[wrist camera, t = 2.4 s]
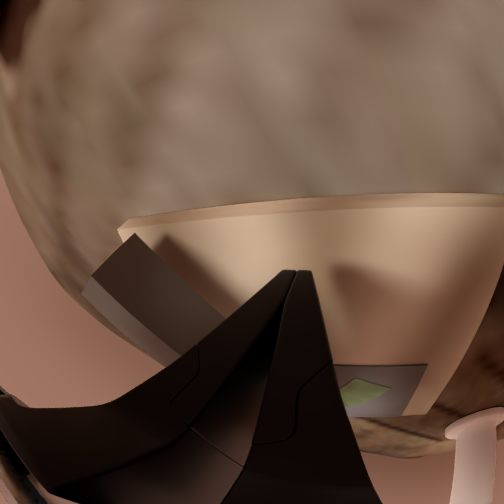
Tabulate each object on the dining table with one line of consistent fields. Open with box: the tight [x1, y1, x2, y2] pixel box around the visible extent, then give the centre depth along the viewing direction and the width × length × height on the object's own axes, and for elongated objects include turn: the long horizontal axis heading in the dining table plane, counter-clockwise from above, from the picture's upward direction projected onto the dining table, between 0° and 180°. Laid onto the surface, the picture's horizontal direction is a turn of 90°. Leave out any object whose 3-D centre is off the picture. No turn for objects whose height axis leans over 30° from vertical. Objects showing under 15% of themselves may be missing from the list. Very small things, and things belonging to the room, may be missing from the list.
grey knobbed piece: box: [82, 233, 226, 367], centre depth 12 cm, size 11×9×3 cm
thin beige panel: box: [117, 193, 504, 417], centre depth 13 cm, size 16×16×1 cm
